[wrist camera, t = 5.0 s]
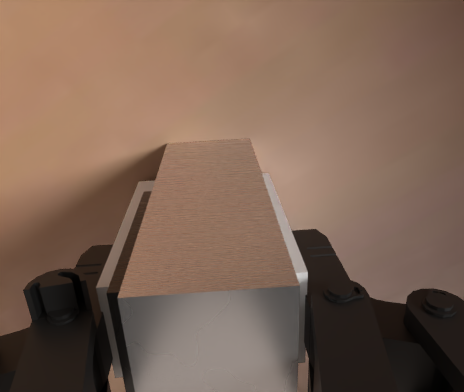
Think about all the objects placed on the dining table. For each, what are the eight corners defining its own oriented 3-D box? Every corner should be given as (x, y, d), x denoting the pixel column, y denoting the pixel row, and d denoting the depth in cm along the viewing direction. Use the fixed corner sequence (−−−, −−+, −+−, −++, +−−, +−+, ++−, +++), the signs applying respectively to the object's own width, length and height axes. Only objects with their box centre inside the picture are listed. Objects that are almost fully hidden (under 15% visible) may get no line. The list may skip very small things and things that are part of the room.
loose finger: (253, 260, 17) (295, 486, 9) (168, 266, 17) (131, 500, 9) (249, 138, 15) (299, 285, 7) (153, 144, 15) (86, 300, 7)
